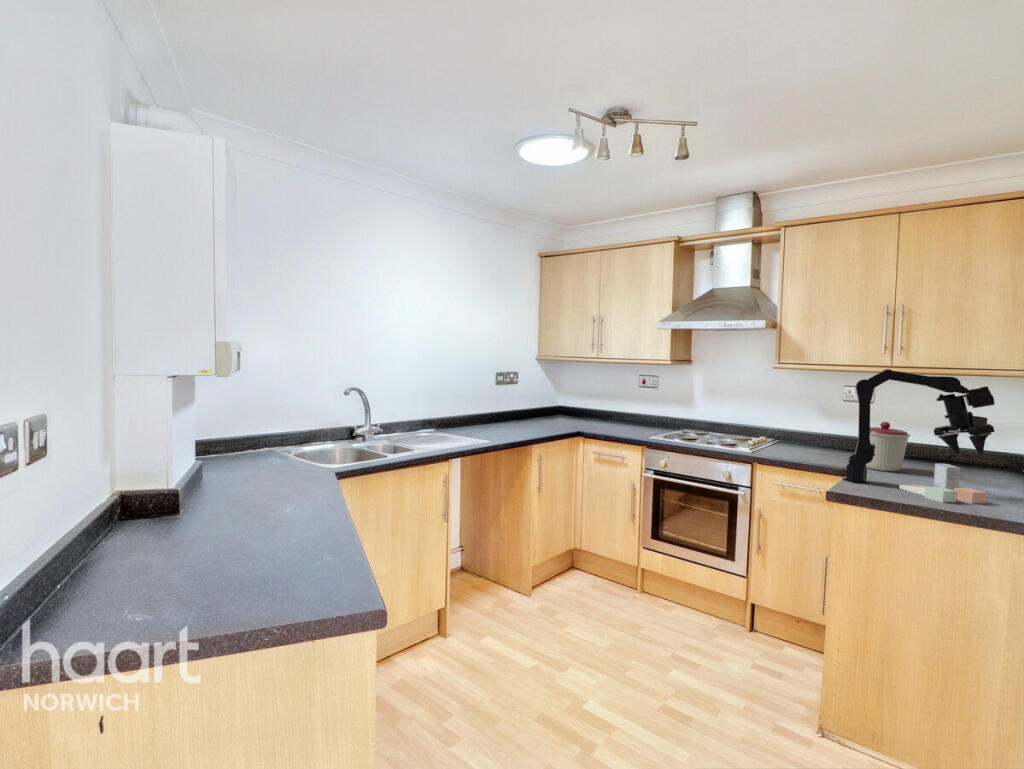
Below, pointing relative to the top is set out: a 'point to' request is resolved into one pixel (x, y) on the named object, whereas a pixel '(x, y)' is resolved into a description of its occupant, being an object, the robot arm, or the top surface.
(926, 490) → the pale green block
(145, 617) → the top surface
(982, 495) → the bottom brick
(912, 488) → the base plate
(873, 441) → the canister
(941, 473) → the medicine box
